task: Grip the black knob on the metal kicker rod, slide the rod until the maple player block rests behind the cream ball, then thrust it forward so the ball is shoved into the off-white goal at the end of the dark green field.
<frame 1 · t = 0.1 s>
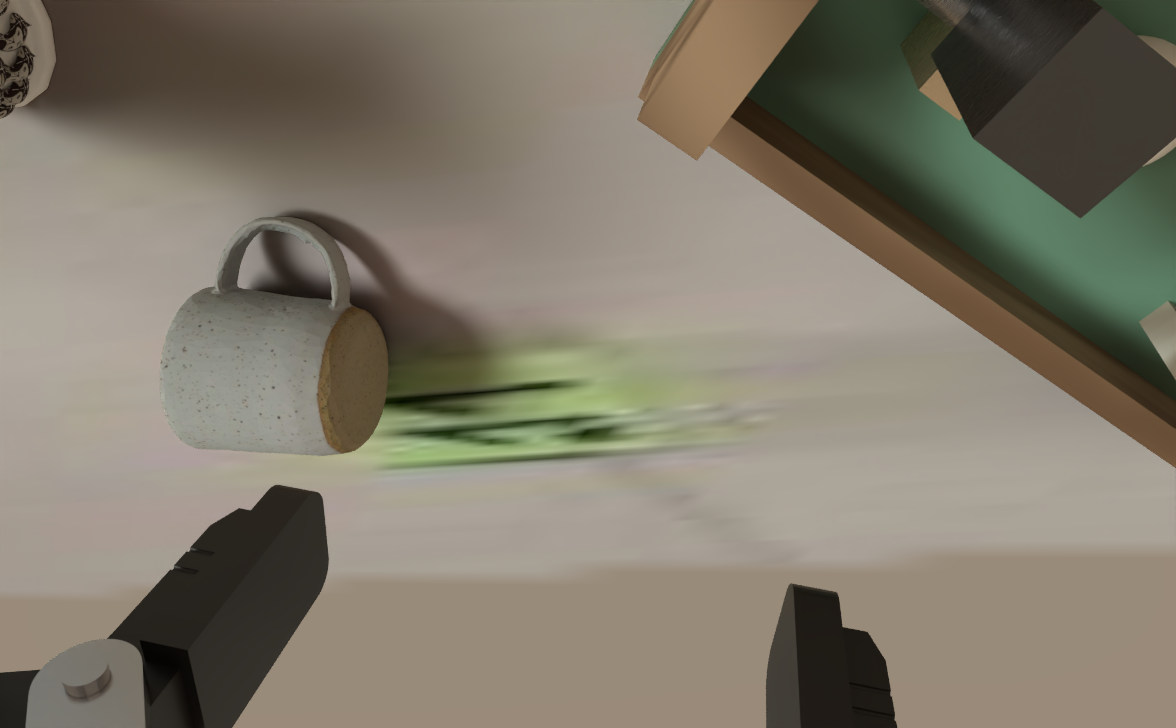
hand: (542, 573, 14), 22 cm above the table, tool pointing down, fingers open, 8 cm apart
foosball field: (1119, 96, 28), on the table
ceramic mug: (310, 305, 41), on the table
ball: (1120, 105, 25), point 3 cm above the table, touching foosball field
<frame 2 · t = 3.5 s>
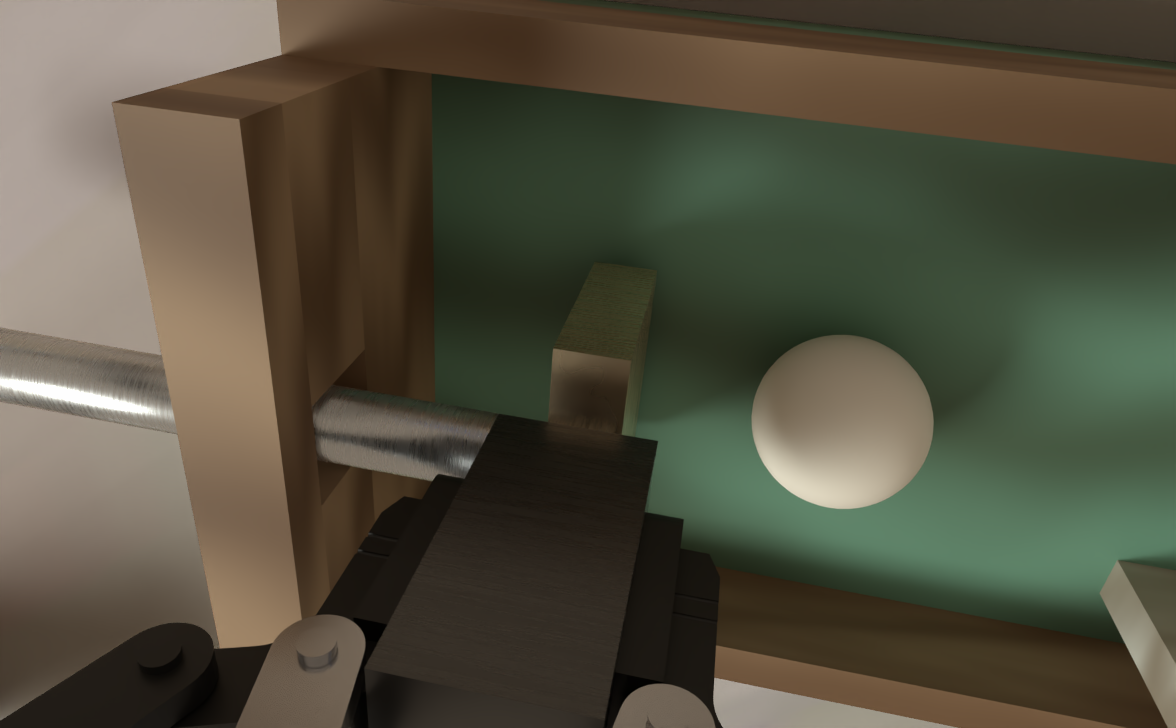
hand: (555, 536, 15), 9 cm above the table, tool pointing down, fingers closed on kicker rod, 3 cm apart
foosball field: (885, 360, 22), on the table
ball: (839, 421, 19), point 3 cm above the table, touching foosball field
kicker rod: (105, 412, 17), point 8 cm above the table, slide at 0.0 cm, touching gripper
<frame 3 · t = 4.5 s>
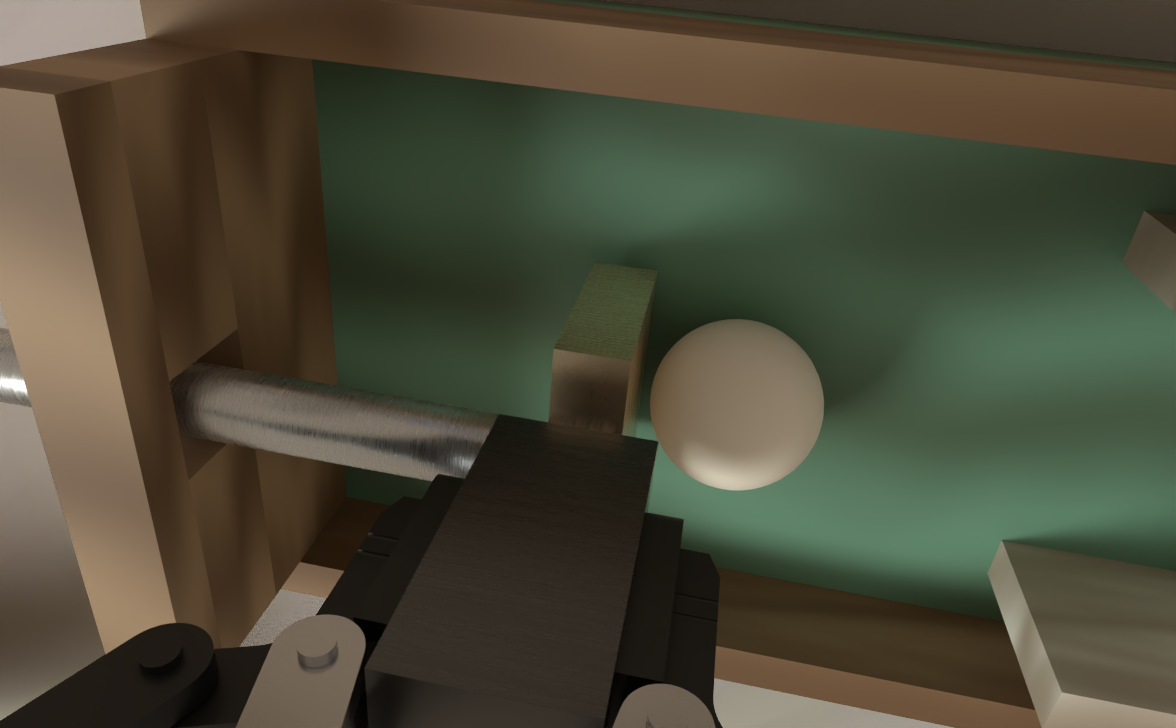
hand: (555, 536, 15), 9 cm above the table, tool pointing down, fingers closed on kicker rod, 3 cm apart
foosball field: (774, 344, 22), on the table
ball: (735, 404, 19), point 3 cm above the table, tilted 15°, touching foosball field
kicker rod: (106, 413, 17), point 8 cm above the table, slide at 3.0 cm, touching gripper
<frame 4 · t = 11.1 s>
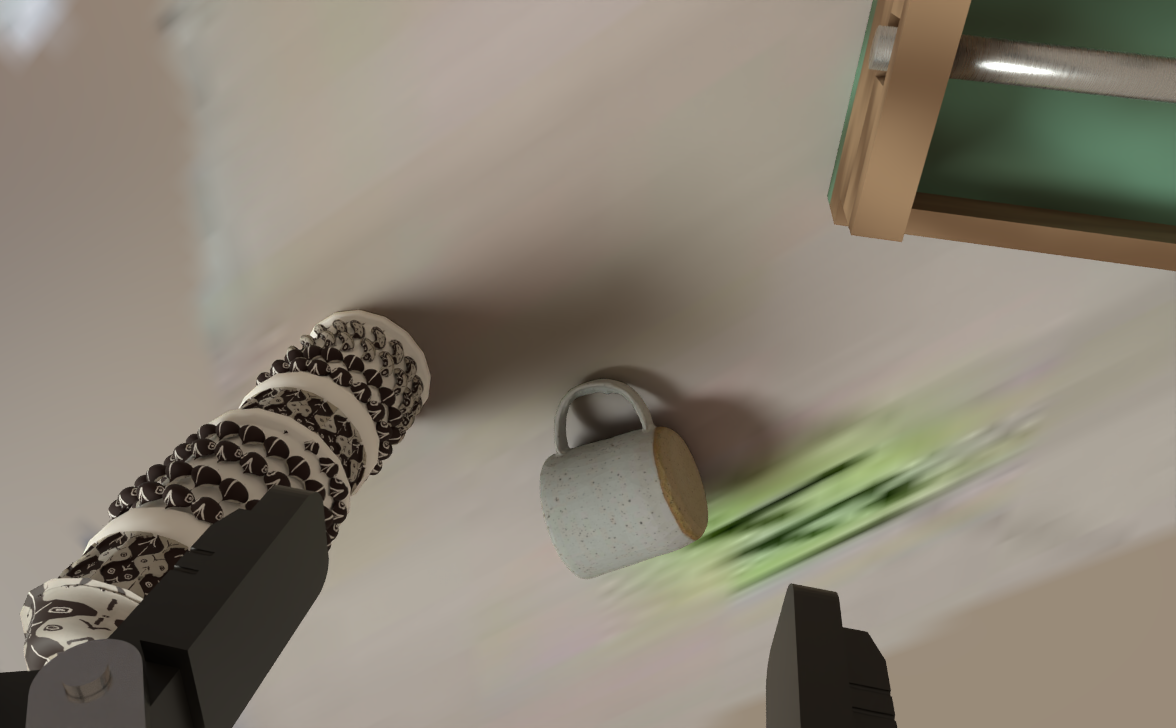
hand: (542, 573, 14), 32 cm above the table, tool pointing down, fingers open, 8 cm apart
decorative candle: (370, 368, 52), on the table
ceramic mug: (621, 445, 52), on the table
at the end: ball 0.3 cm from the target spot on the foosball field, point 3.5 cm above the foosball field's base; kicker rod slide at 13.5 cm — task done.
